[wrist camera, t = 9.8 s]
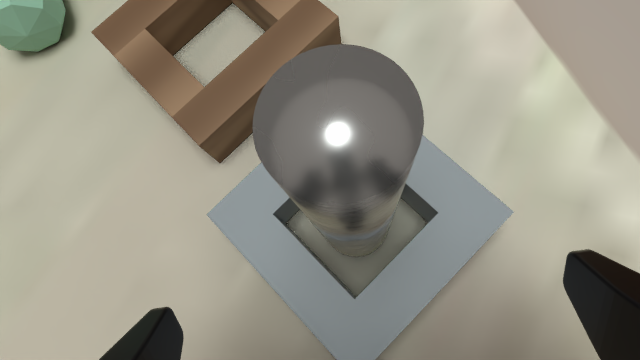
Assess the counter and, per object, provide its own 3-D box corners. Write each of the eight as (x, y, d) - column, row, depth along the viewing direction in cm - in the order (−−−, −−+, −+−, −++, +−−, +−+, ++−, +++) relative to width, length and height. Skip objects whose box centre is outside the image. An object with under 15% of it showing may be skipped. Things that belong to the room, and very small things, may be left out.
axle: (401, 232, 21) (460, 138, 8) (347, 269, 21) (310, 239, 7) (363, 181, 22) (357, 15, 8) (312, 216, 22) (222, 103, 8)
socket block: (493, 222, 21) (513, 212, 18) (357, 366, 20) (355, 380, 17) (354, 101, 23) (352, 75, 20) (227, 223, 22) (206, 214, 19)
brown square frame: (341, 48, 24) (338, 16, 21) (219, 163, 23) (198, 145, 20) (235, -40, 27) (219, -79, 24) (122, 60, 26) (91, 32, 23)
